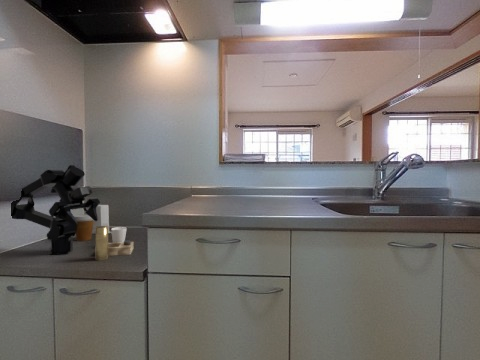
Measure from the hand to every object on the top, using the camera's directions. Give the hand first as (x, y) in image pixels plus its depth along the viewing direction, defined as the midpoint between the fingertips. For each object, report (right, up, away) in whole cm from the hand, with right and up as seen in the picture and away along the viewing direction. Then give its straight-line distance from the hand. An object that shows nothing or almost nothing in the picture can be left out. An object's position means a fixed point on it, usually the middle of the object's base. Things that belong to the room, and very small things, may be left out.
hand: (87, 222), depth 104 cm
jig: (+8, -14, +6) cm, 17 cm away
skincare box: (-18, -13, +42) cm, 47 cm away
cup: (+4, -14, +15) cm, 21 cm away
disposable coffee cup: (-17, -13, +27) cm, 34 cm away
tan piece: (+7, -14, -2) cm, 16 cm away
